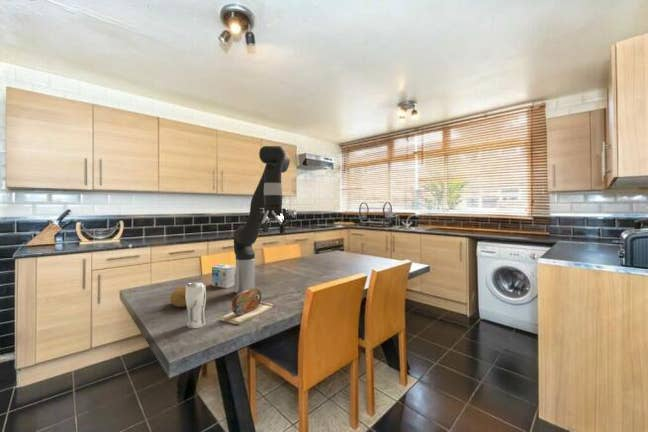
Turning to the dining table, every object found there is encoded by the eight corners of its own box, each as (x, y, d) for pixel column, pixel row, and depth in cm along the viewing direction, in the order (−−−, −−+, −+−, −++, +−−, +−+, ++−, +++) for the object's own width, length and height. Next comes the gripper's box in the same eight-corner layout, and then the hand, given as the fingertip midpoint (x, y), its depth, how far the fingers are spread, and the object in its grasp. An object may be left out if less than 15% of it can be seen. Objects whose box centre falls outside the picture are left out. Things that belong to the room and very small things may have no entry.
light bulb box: (211, 285, 149) (211, 266, 148) (220, 282, 155) (220, 263, 155) (226, 288, 145) (226, 268, 144) (235, 285, 151) (235, 265, 150)
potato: (193, 298, 128) (193, 281, 128) (197, 308, 116) (196, 290, 116) (169, 302, 123) (169, 284, 123) (170, 313, 111) (170, 293, 111)
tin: (236, 318, 104) (236, 296, 104) (230, 317, 106) (230, 295, 105) (261, 305, 118) (261, 286, 118) (256, 304, 119) (256, 285, 119)
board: (219, 320, 105) (219, 316, 105) (254, 303, 123) (254, 300, 123) (239, 325, 101) (239, 321, 101) (272, 307, 119) (272, 304, 119)
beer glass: (190, 321, 104) (189, 281, 103) (209, 320, 104) (208, 281, 104) (182, 329, 97) (181, 287, 96) (202, 328, 97) (202, 287, 97)
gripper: (253, 194, 115) (254, 233, 115) (281, 193, 108) (282, 234, 109) (265, 194, 121) (265, 231, 122) (292, 194, 115) (292, 232, 116)
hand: (273, 232), depth 116 cm, fingers open, 8 cm apart
